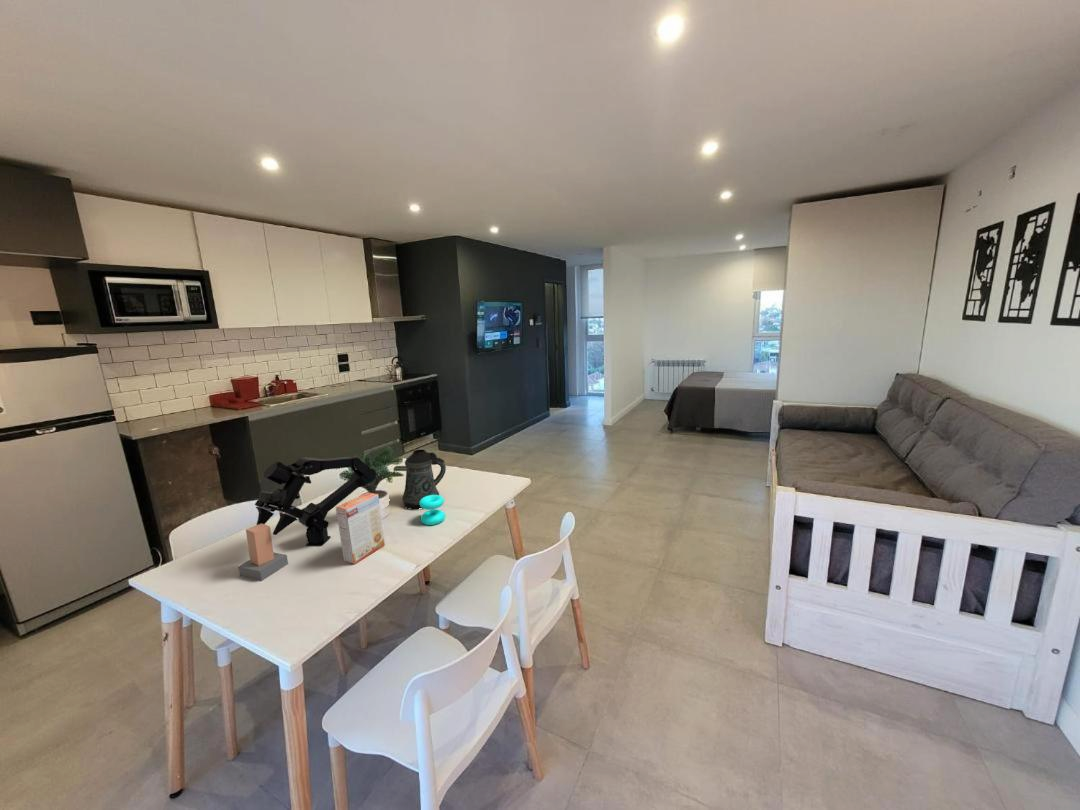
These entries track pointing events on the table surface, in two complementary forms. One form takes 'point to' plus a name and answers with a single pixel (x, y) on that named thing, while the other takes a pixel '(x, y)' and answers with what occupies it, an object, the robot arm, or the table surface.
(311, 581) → the table surface
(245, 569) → the charcoal box
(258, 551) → the terracotta block
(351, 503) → the cracker box
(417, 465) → the beer stein
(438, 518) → the donuts
